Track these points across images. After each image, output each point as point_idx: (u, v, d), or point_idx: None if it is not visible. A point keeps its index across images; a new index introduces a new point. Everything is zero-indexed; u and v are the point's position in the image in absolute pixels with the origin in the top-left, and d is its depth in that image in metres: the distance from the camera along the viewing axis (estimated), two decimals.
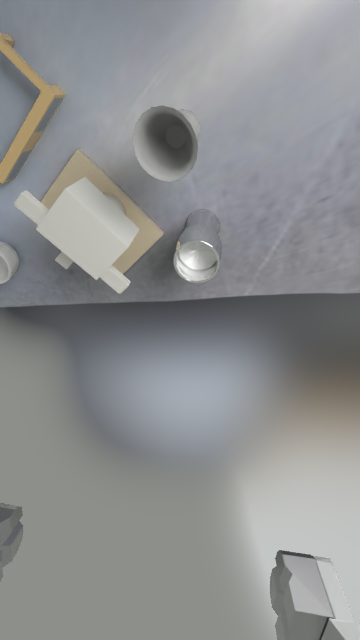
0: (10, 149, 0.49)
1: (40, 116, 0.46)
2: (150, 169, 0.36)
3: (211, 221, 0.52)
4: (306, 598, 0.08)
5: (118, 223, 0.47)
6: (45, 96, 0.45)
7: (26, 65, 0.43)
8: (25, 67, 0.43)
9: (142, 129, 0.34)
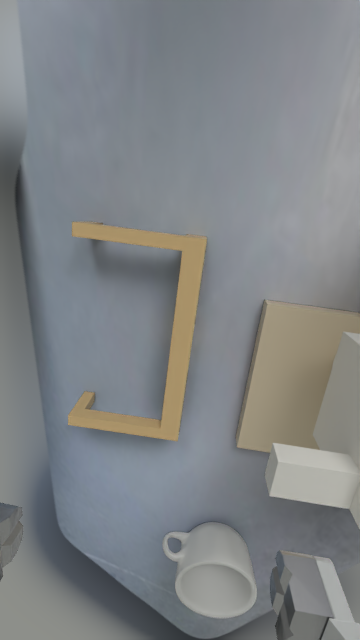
0: (169, 377, 0.26)
1: (196, 291, 0.23)
2: None
3: None
4: (306, 598, 0.08)
5: None
6: (192, 253, 0.23)
7: (141, 230, 0.23)
8: (142, 233, 0.22)
9: None
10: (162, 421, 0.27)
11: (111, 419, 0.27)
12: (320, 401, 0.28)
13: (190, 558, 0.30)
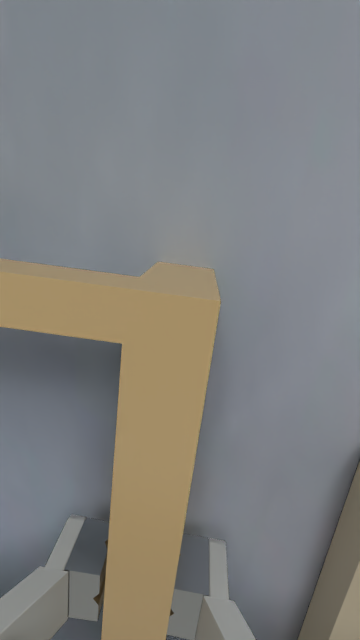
0: None
1: (183, 479, 0.06)
2: None
3: None
4: (187, 577, 0.08)
5: None
6: (162, 352, 0.06)
7: None
8: None
9: None
10: None
11: None
12: None
13: None
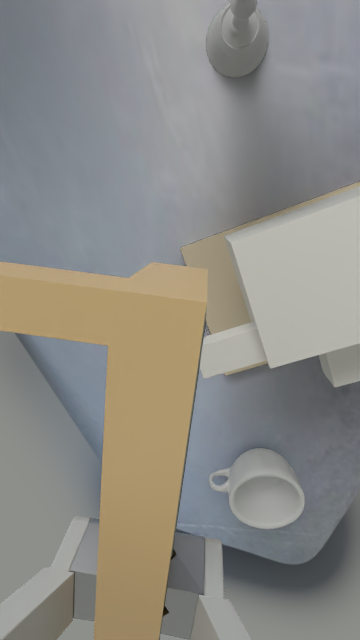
0: None
1: (172, 483, 0.06)
2: None
3: None
4: (182, 576, 0.08)
5: (350, 194, 0.20)
6: (148, 355, 0.06)
7: None
8: None
9: None
10: None
11: None
12: None
13: (232, 483, 0.34)
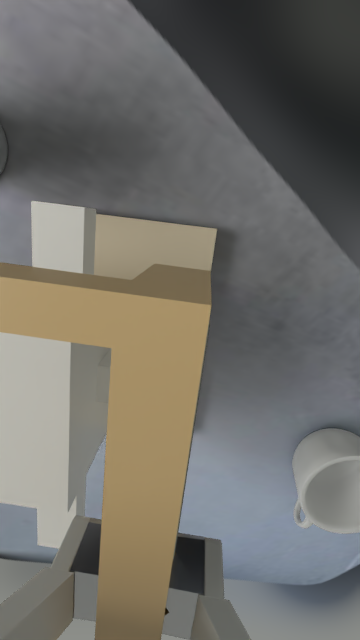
0: None
1: (175, 486, 0.06)
2: None
3: None
4: (182, 576, 0.08)
5: None
6: (152, 357, 0.06)
7: None
8: None
9: None
10: None
11: None
12: None
13: None
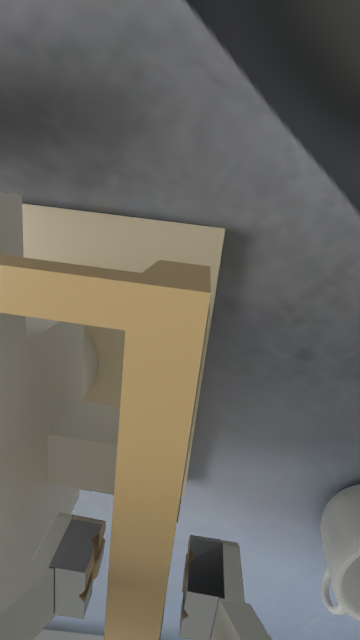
0: None
1: (179, 452, 0.07)
2: None
3: None
4: (202, 580, 0.08)
5: None
6: (160, 338, 0.06)
7: None
8: None
9: None
10: None
11: None
12: None
13: None
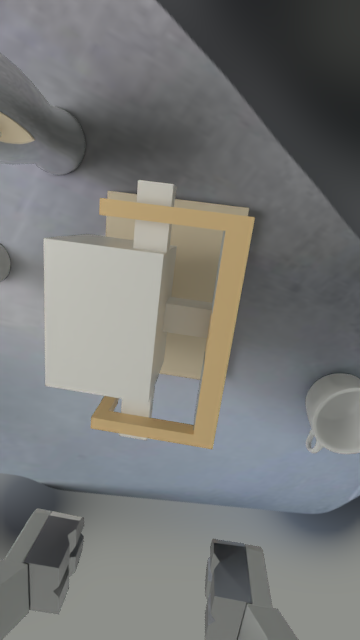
0: (205, 377, 0.23)
1: (241, 278, 0.20)
2: None
3: None
4: (228, 584, 0.08)
5: None
6: (237, 233, 0.20)
7: (178, 208, 0.20)
8: (180, 211, 0.19)
9: None
10: (196, 426, 0.24)
11: (138, 423, 0.25)
12: None
13: None
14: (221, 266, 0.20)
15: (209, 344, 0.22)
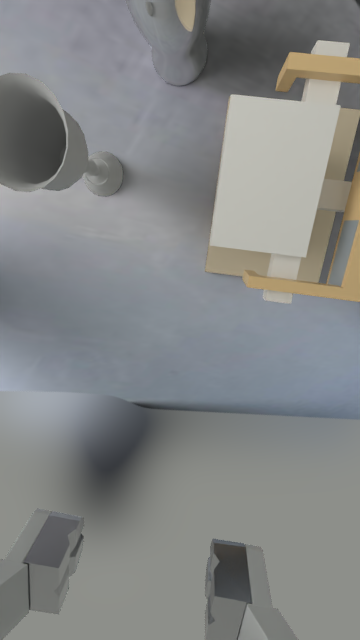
0: None
1: None
2: (67, 134, 0.22)
3: None
4: (228, 584, 0.08)
5: (222, 151, 0.28)
6: None
7: None
8: None
9: (41, 183, 0.24)
10: (347, 279, 0.27)
11: (291, 281, 0.27)
12: None
13: None
14: None
15: None
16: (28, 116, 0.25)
